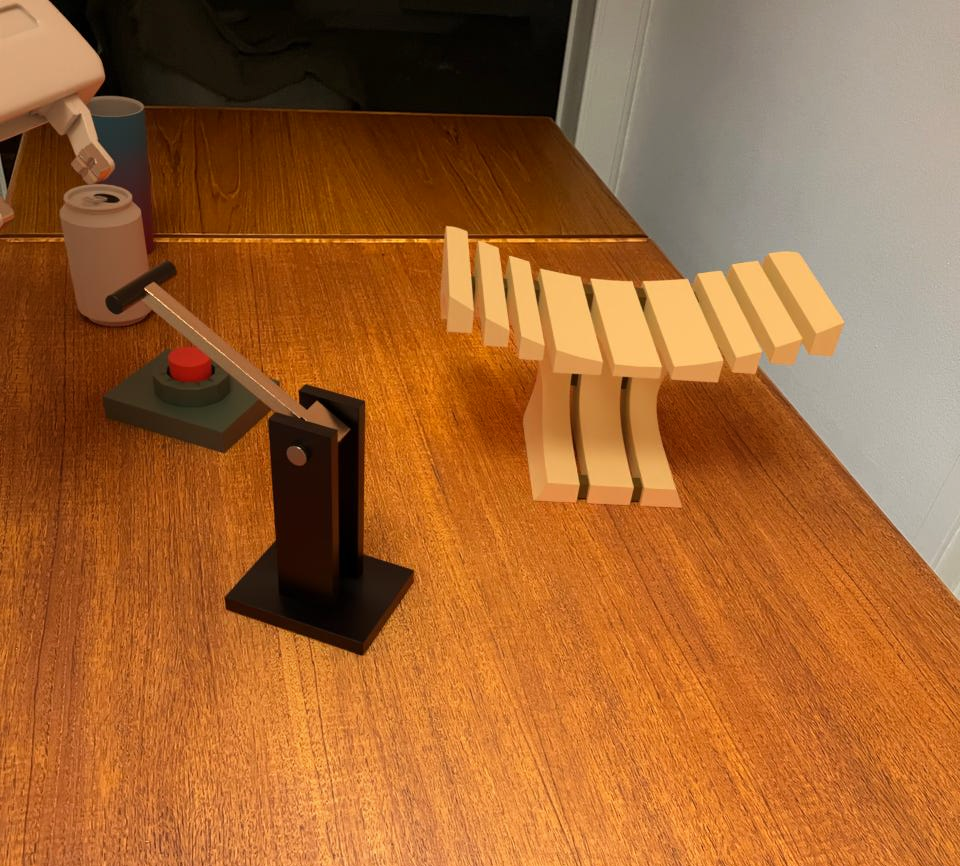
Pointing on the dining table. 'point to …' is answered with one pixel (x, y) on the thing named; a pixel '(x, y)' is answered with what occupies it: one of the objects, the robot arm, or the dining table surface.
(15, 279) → the dining table surface
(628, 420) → the slatted curved stool
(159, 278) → the lever
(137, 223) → the can
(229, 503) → the dining table surface
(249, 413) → the box
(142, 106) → the cup
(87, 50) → the robot arm
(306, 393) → the bracket
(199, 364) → the button
